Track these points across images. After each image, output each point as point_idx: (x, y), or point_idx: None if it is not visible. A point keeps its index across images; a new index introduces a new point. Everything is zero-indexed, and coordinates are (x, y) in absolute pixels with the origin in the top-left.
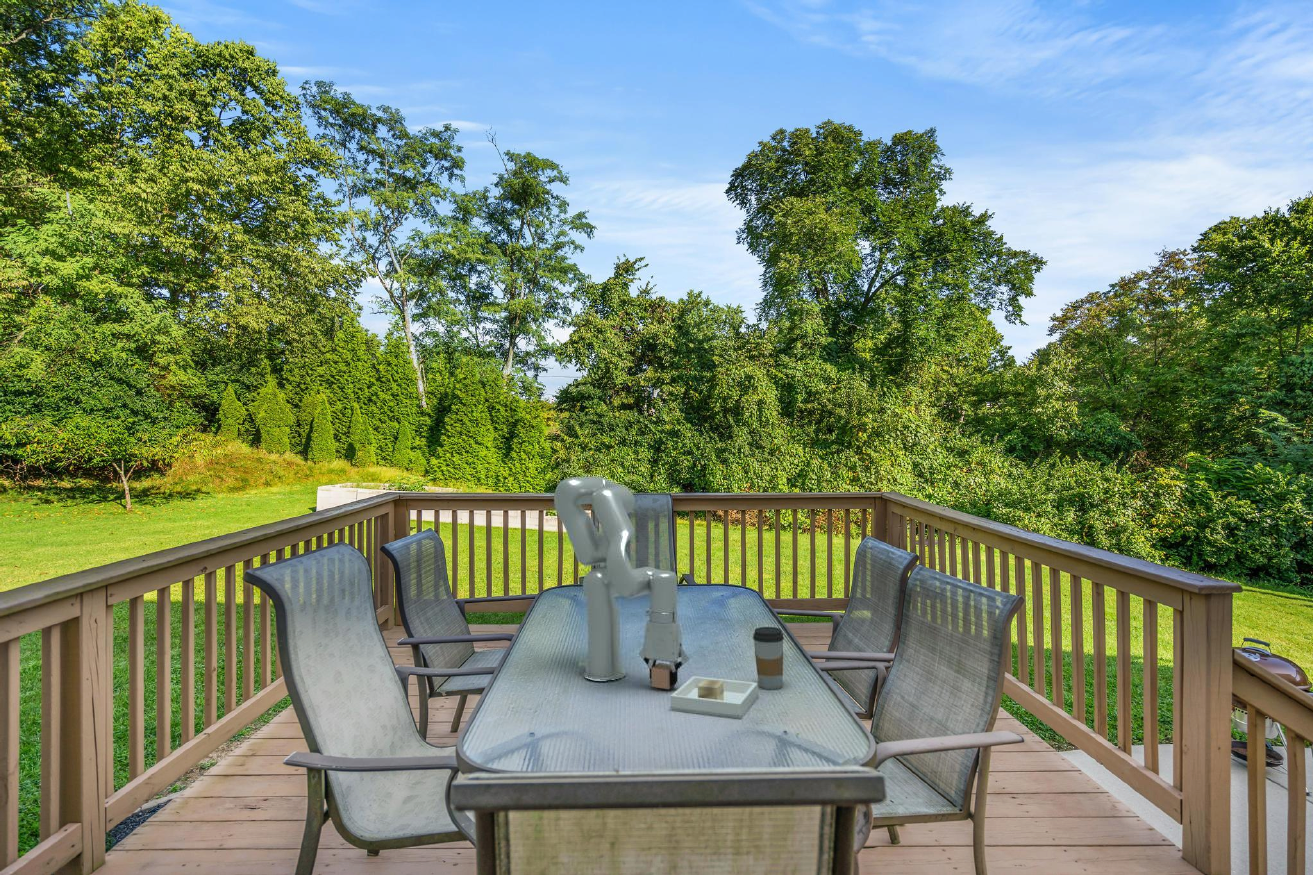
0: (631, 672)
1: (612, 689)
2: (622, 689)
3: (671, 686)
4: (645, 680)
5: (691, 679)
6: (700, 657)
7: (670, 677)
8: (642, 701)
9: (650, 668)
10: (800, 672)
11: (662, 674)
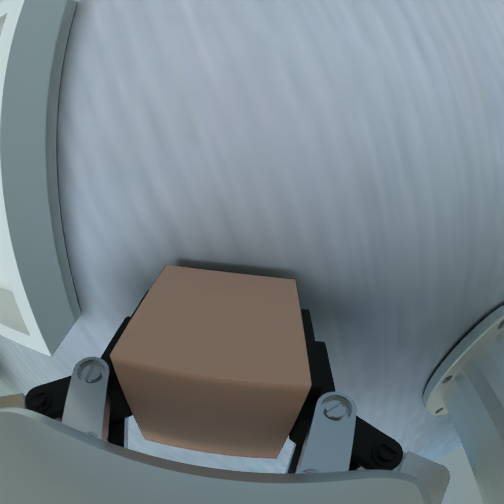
0: (404, 408)
1: (485, 237)
2: (450, 246)
3: None
4: (352, 375)
5: (25, 309)
6: None
7: None
8: (289, 51)
9: (327, 393)
10: None
11: (186, 335)
